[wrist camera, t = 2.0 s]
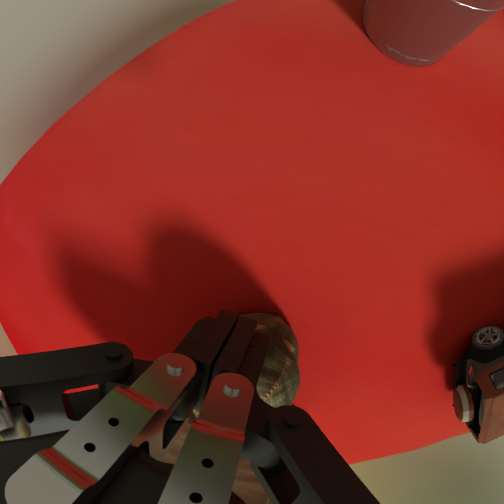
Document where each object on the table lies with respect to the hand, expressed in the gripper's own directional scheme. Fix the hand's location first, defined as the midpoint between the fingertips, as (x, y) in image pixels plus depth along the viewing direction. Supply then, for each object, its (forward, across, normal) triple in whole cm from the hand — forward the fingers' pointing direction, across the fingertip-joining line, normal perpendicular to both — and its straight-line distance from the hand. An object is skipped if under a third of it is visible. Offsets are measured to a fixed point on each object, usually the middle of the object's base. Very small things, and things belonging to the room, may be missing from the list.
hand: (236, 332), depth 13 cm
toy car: (+19, -35, +6) cm, 40 cm away
